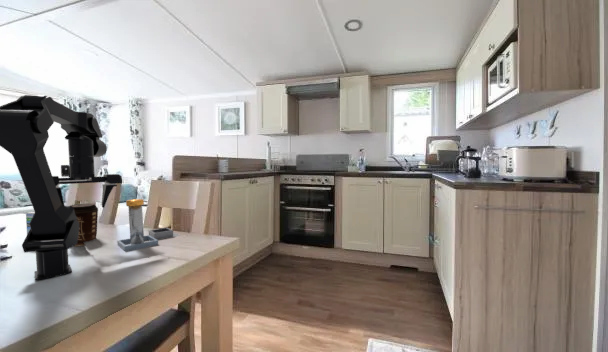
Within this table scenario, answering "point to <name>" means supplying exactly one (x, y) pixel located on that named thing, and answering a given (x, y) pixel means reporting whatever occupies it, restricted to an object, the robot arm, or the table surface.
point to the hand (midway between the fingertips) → (84, 209)
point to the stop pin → (136, 220)
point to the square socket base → (162, 233)
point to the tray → (136, 246)
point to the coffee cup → (86, 222)
